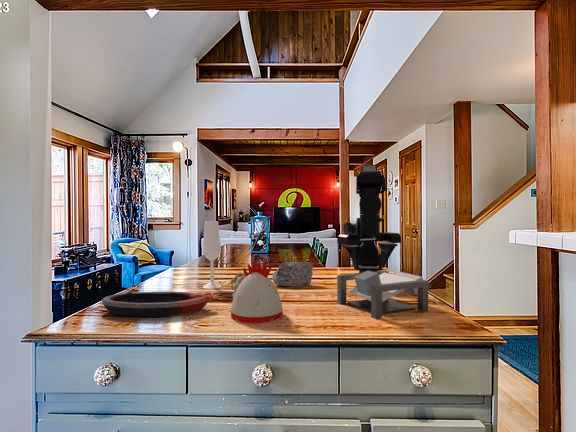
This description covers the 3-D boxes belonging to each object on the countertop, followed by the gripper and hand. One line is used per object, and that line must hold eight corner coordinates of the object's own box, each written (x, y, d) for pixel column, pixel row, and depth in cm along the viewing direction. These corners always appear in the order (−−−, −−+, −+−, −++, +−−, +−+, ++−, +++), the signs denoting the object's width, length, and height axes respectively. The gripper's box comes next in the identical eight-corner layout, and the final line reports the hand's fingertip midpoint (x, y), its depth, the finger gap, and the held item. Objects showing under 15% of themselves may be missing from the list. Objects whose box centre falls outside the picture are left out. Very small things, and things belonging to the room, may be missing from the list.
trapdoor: (397, 282, 126) (393, 267, 125) (430, 290, 113) (426, 274, 112) (353, 305, 119) (348, 290, 118) (382, 317, 106) (377, 300, 106)
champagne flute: (199, 286, 144) (198, 221, 143) (215, 284, 148) (214, 220, 147) (209, 289, 139) (208, 221, 138) (225, 286, 143) (224, 221, 142)
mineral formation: (230, 303, 119) (223, 290, 133) (272, 307, 123) (260, 293, 137) (235, 277, 118) (227, 267, 133) (277, 282, 123) (264, 271, 137)
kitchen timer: (270, 326, 97) (270, 265, 97) (221, 320, 102) (221, 263, 101) (289, 311, 110) (289, 258, 110) (245, 307, 115) (245, 256, 114)
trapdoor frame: (384, 296, 127) (384, 270, 127) (428, 311, 110) (428, 281, 110) (337, 302, 120) (337, 275, 119) (375, 319, 102) (376, 286, 102)
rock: (317, 282, 149) (312, 256, 149) (316, 286, 141) (311, 258, 141) (276, 288, 151) (272, 263, 151) (273, 292, 142) (268, 265, 143)
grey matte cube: (372, 285, 116) (367, 270, 115) (382, 289, 112) (378, 273, 111) (358, 292, 114) (354, 276, 114) (369, 296, 110) (364, 279, 109)
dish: (116, 304, 119) (116, 288, 119) (217, 305, 118) (217, 288, 118) (89, 319, 103) (89, 301, 103) (204, 320, 102) (204, 301, 102)
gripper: (378, 213, 123) (378, 262, 124) (327, 214, 116) (327, 266, 116) (402, 214, 113) (402, 268, 114) (348, 215, 106) (348, 272, 106)
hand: (369, 268), depth 113 cm, fingers open, 9 cm apart
